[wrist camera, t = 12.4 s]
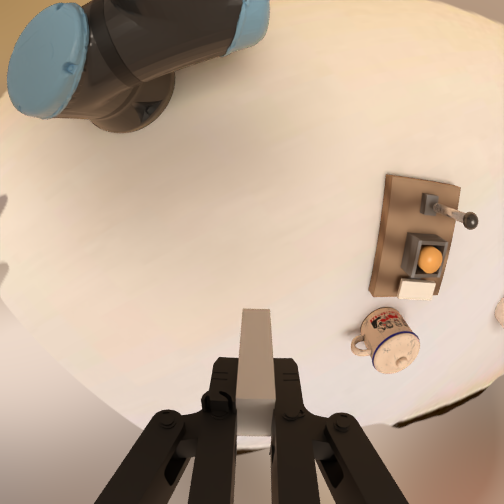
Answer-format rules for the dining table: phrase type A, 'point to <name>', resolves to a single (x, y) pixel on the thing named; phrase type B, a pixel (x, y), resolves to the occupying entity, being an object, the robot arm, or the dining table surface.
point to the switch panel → (411, 232)
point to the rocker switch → (416, 289)
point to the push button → (429, 259)
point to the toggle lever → (458, 215)
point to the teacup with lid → (387, 341)
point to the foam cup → (500, 312)
